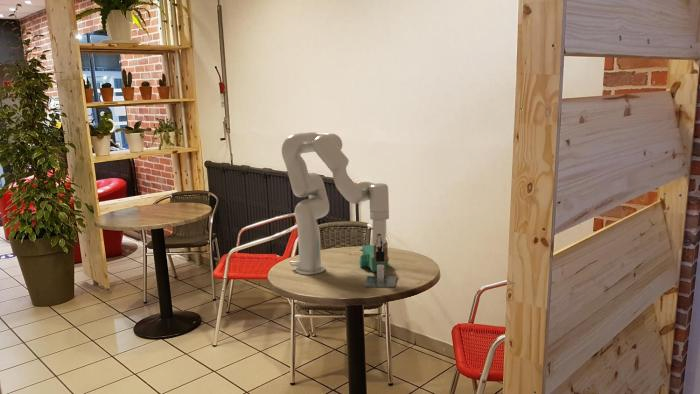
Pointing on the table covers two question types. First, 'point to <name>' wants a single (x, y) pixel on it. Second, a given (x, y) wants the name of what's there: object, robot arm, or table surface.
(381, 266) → the grey base plate
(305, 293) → the table surface
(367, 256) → the toy
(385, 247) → the tan cardboard carton
